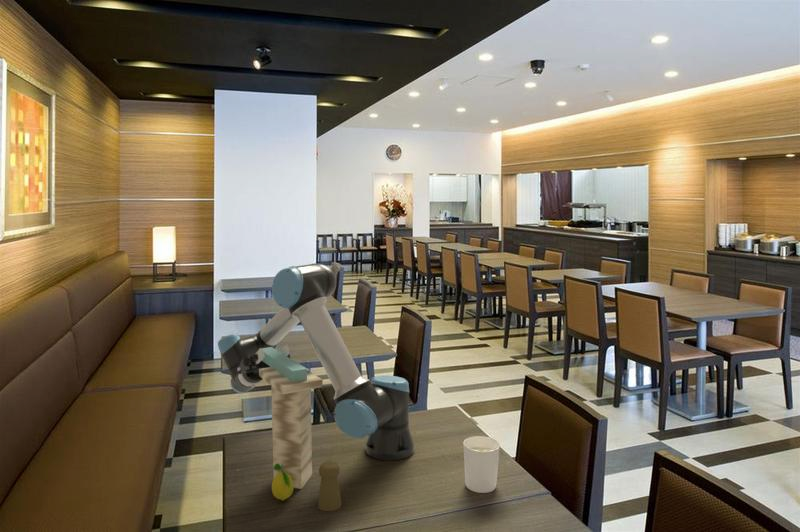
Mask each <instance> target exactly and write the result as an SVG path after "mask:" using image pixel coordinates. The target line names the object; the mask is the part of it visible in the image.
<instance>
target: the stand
mask: <svg viewBox="0 0 800 532" xmlns="http://www.w3.org/2000/svg"><path fill="white" fill-rule="evenodd" d="M259 376H260V377H261V378H262V379H263V380H264V381H265V382H267V384H269V385H270V386H271V390H270V391H271V424H272V425H271V427H272V465H273V466H272V467H273V474H272V475H273V478H274V477H275V476H276V475H277V474H278V473H281V472H282V469H281V470H275V469H274V466H275V464H277V463H278V464H279V465H280V466H282V464H283V472H285V473H287V474H289V475H290V476H291V478H292V480H293V489H300V490H302V489H303V488H304V486H305V485H306V484H307V483H308V481H309V480H310V479H311V477H312V475H313V454H312V453H313V448H312V447H313V445H312V444H313V442H312V440H313V439H312V391H311V390H313V389H318V388H322V387H323V384H324V383H323V379H322V378H321V377H319V376H318V375H316V374H315V373H313V372H311V371H310V370H308V369H307V380H303V381H298V382H292V381H290V380H289V379H287V378H286V377H284V376H283V375H282V374H280V373H279V372H277V371H276V370H274V369H273V368H272V367H268V368H262V369H259ZM281 468H282V467H281Z"/></svg>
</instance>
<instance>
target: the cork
mask: <svg viewBox="0 0 800 532" xmlns="http://www.w3.org/2000/svg"><path fill="white" fill-rule="evenodd" d="M318 473H319V476H320V477H321V478H320V485H319V494H318V501H317V507H318V509H320V511H324V512H333V511H334V512H335V511H337V510H339V509H340V508H341V506H342V497H341V490H340V485H339V477H338V476H339V475H340V465H339V464H338V463H337V462H336V461H332V460H331V461H325V462H322V463H321V464H320V465H319V468H318Z"/></svg>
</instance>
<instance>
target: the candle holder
mask: <svg viewBox="0 0 800 532" xmlns="http://www.w3.org/2000/svg"><path fill="white" fill-rule="evenodd" d="M462 443H463V444H462V445H463V459H464V460H463V464H464V482H465V483H464V484H465V487H466V489H468V490H470V491H472V492H473V493H474V492H475V493H477V494H487V493H491V492H493V491H494V490H496V488H497V482H498V481H497V480H498V471H499V458H500V457H499V456H500V448H501V445H500V442H499V441H498V440H497V439H494V437H493V438H492V437H489V436H484V435H475V436H470V437H467V438H465V439H464V440H463V442H462Z"/></svg>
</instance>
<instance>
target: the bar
mask: <svg viewBox="0 0 800 532" xmlns="http://www.w3.org/2000/svg"><path fill="white" fill-rule="evenodd" d="M263 351H264V356H265V357H264V358H263V359H262V361H263V362H264V363H266V364H267V365H269V366H270V367H272V368H273V369H274V370H276V371H277V372H279V373H280V374H282V375H283V376H284V377H286V378H287V379H289V380H290V381H292V382H298V381H303V380H307V370H308V369H307V367H305V366H303V365H301V364H300V363H299V362H297V361H295V360H294V359H292V358H291V357H290V358H291V359H290V358H289V357H287V356H285V355H284V354H282V353H281V352H279V350H277V349H274V348H272V347H268V348H263Z"/></svg>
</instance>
